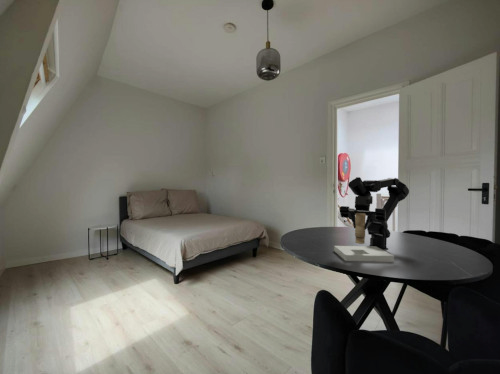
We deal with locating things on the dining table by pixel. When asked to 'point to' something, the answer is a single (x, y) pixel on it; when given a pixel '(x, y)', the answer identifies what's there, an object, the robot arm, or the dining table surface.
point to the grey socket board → (363, 253)
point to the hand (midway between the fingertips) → (359, 228)
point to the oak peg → (360, 228)
